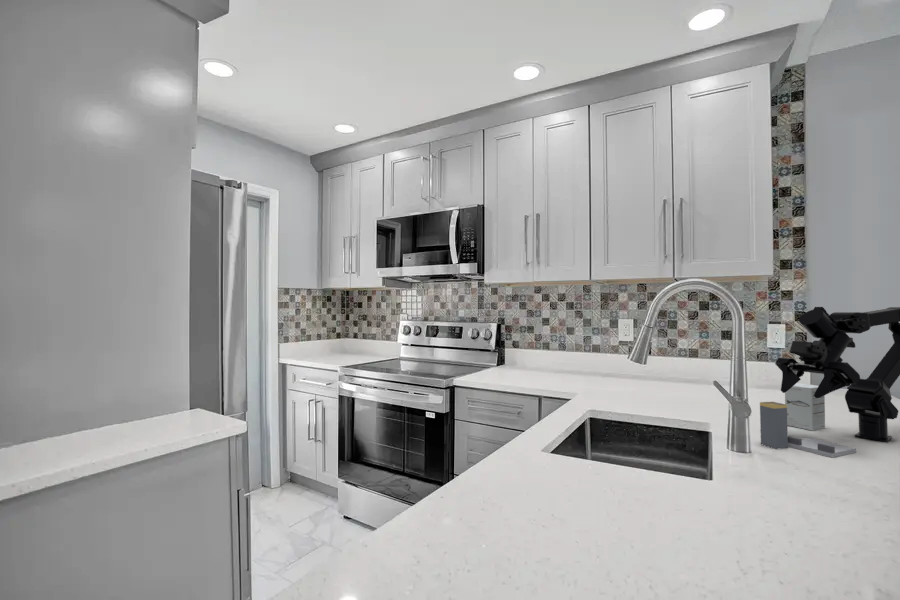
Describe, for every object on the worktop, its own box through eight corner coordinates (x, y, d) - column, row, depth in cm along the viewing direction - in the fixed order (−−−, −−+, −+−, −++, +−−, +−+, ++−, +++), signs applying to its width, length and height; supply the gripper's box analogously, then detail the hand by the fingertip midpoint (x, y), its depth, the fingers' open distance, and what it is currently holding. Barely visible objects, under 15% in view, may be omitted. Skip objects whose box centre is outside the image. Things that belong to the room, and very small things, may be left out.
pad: (809, 441, 117) (809, 432, 117) (855, 452, 108) (855, 442, 108) (786, 446, 113) (786, 436, 114) (832, 457, 104) (832, 447, 104)
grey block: (773, 443, 116) (772, 401, 116) (788, 447, 112) (786, 404, 112) (760, 444, 115) (759, 402, 115) (775, 449, 111) (774, 405, 112)
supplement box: (784, 425, 134) (783, 384, 135) (798, 422, 137) (797, 382, 138) (812, 431, 128) (811, 387, 128) (826, 428, 131) (825, 385, 131)
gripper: (777, 329, 127) (748, 371, 124) (845, 330, 108) (812, 378, 106) (802, 354, 128) (774, 396, 125) (874, 359, 109) (843, 408, 107)
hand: (798, 394), depth 116 cm, fingers open, 9 cm apart
